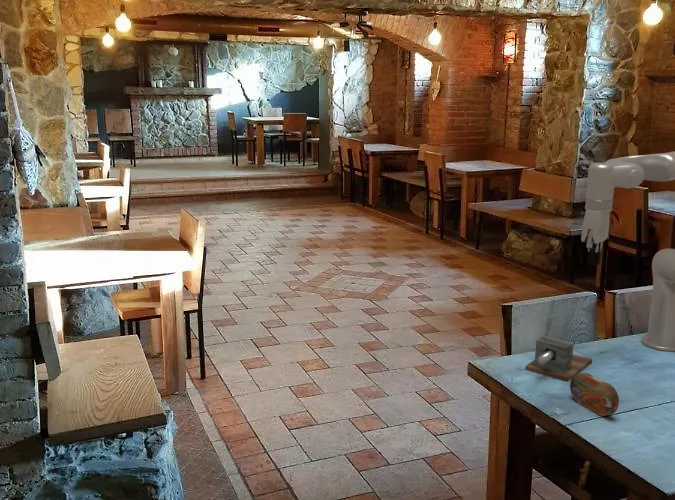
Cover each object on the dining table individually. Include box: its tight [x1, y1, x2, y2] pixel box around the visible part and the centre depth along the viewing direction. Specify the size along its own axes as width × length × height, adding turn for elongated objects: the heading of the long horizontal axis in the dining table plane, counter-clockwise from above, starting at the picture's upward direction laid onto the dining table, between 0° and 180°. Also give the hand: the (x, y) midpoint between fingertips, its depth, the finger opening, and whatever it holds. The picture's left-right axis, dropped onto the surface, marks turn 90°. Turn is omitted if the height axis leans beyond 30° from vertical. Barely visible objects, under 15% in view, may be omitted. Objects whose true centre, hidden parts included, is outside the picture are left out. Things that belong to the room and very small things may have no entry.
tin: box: [569, 372, 620, 417], centre depth 176 cm, size 15×3×8 cm, turn 23°
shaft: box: [537, 338, 561, 365], centre depth 197 cm, size 13×5×5 cm, turn 139°
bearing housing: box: [524, 335, 593, 383], centre depth 202 cm, size 18×13×9 cm
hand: (593, 264), depth 206 cm, fingers closed
